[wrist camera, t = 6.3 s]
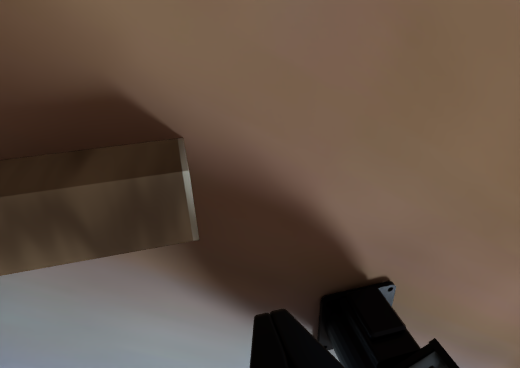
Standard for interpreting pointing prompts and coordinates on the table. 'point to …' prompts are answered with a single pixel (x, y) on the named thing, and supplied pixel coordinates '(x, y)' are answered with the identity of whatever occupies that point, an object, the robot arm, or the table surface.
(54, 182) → the walnut block
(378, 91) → the table surface
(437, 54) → the table surface
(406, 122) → the table surface
